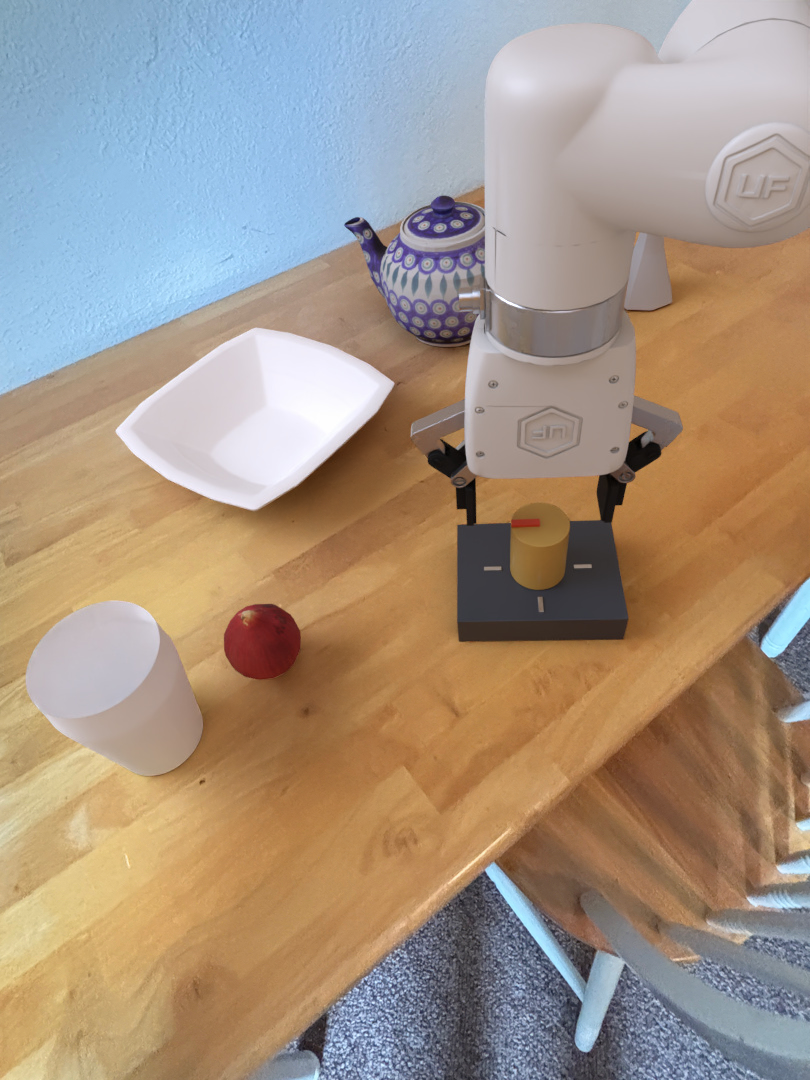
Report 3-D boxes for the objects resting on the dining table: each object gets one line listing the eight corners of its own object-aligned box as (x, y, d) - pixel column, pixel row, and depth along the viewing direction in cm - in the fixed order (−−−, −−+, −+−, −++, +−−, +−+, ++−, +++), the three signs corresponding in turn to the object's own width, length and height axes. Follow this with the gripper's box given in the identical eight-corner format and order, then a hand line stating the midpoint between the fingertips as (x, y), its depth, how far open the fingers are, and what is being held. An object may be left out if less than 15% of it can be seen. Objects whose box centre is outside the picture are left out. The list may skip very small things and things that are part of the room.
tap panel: (606, 541, 62) (611, 518, 60) (623, 639, 56) (629, 617, 53) (458, 545, 64) (457, 523, 61) (458, 641, 57) (457, 620, 55)
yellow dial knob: (562, 546, 59) (567, 498, 54) (567, 589, 56) (573, 543, 51) (508, 547, 59) (509, 500, 55) (511, 590, 56) (512, 544, 52)
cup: (159, 665, 59) (95, 580, 50) (242, 711, 55) (191, 629, 46) (79, 758, 54) (-7, 683, 45) (164, 815, 51) (90, 746, 42)
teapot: (571, 306, 85) (582, 179, 74) (524, 381, 77) (529, 251, 66) (389, 273, 95) (374, 155, 83) (330, 337, 86) (305, 216, 75)
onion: (272, 624, 60) (246, 567, 54) (324, 655, 58) (303, 599, 52) (225, 675, 58) (192, 622, 51) (277, 710, 55) (248, 658, 49)
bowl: (117, 475, 74) (93, 435, 70) (270, 357, 85) (257, 316, 81) (267, 567, 64) (250, 527, 60) (419, 420, 75) (414, 376, 71)
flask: (603, 284, 88) (612, 204, 80) (661, 275, 88) (676, 194, 80) (620, 317, 83) (633, 234, 75) (682, 307, 83) (700, 224, 75)
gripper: (393, 351, 37) (418, 552, 51) (733, 335, 36) (667, 547, 49) (400, 275, 42) (421, 476, 55) (701, 257, 40) (649, 470, 54)
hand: (536, 509), depth 52 cm, fingers open, 9 cm apart
